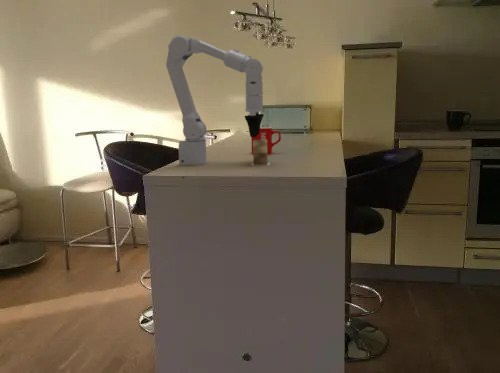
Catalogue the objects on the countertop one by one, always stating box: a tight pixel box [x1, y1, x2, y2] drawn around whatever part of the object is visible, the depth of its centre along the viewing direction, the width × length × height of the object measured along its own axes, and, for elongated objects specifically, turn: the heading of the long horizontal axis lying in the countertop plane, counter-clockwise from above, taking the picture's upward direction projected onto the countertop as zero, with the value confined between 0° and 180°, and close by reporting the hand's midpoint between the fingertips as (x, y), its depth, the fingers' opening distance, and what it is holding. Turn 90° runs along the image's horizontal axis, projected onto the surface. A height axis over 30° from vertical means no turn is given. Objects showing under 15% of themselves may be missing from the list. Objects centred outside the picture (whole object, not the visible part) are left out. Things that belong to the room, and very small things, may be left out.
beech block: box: [253, 140, 267, 153], centre depth 166 cm, size 4×4×4 cm
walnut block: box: [252, 153, 269, 166], centre depth 166 cm, size 4×4×4 cm
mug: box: [250, 126, 282, 156], centre depth 200 cm, size 12×8×11 cm
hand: (254, 135), depth 167 cm, fingers open, 7 cm apart
